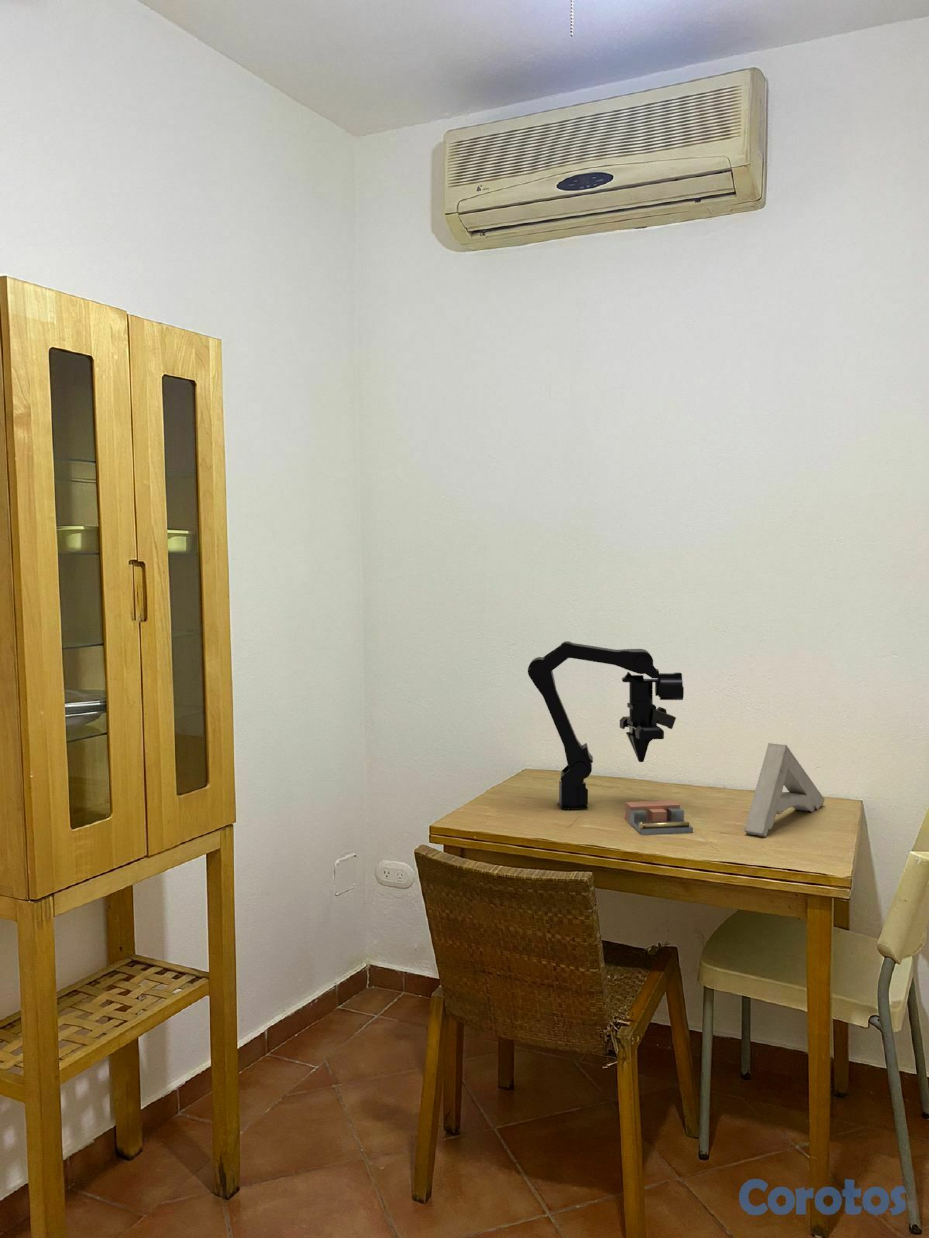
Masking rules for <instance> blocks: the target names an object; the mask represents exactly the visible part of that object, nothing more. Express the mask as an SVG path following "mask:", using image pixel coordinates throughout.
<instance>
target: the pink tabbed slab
mask: <svg viewBox="0 0 929 1238" xmlns="http://www.w3.org/2000/svg"><path fill="white" fill-rule="evenodd" d="M624 806H625V807H624V812H625V813H624V814H625V815H624V817H625V820H627V821H628V822H629V823H630V809H639V808H642V809H643V810H645V811H646V812H647V822H659V821H667V807H680V808H681V804H680V803H679V802H677V801H675V800H673V799H667V800H666V799H665V800H645V801H625V804H624Z"/></svg>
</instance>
